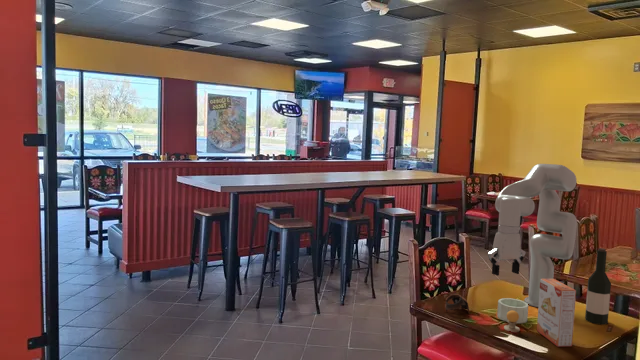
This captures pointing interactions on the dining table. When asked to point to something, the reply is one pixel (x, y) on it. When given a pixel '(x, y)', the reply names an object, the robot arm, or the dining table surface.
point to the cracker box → (556, 312)
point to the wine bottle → (598, 292)
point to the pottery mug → (456, 302)
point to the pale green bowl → (512, 304)
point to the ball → (512, 316)
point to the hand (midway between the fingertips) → (505, 273)
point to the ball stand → (512, 327)
